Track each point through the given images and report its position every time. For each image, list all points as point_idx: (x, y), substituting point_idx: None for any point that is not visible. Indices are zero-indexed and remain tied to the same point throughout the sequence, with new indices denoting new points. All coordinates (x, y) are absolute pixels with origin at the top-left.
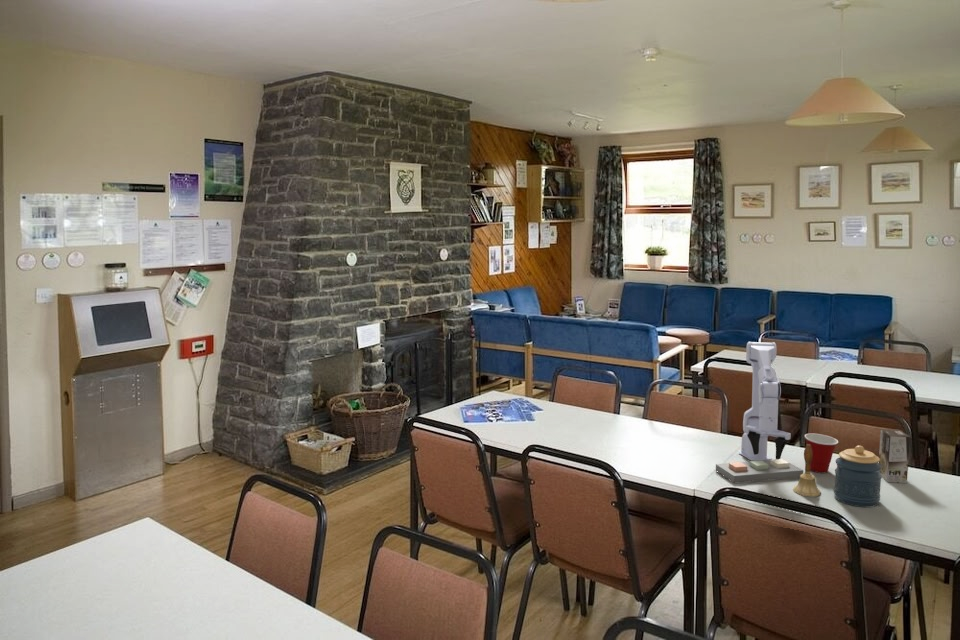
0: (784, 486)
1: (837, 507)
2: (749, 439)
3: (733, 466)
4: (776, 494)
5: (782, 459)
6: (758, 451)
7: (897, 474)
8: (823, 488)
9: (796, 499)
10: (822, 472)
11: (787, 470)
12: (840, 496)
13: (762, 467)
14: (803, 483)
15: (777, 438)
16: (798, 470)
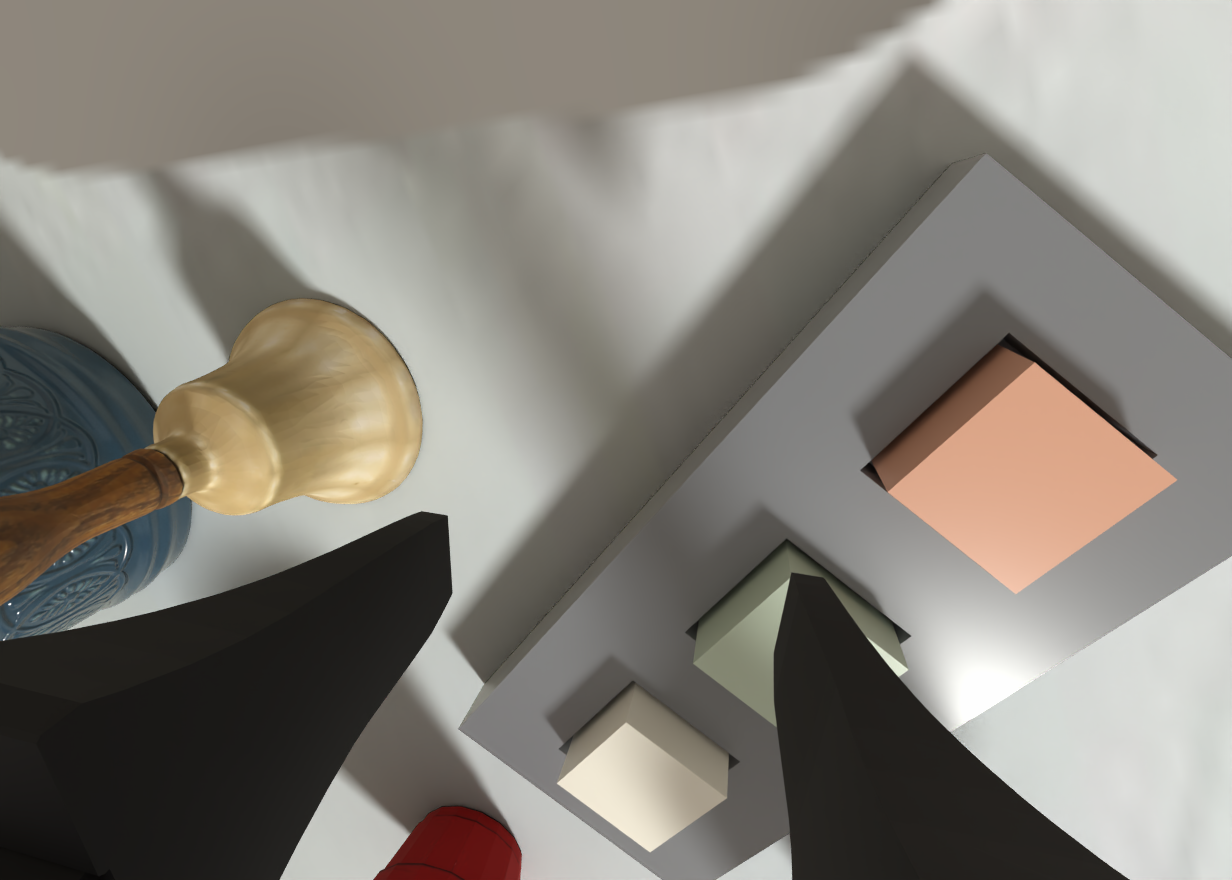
0: (496, 416)
1: (42, 216)
2: (1045, 821)
3: (1077, 399)
4: (457, 152)
5: (639, 841)
6: (774, 682)
7: None
8: (293, 544)
9: (287, 157)
10: (433, 811)
11: (546, 670)
12: (45, 352)
13: (741, 603)
14: (254, 365)
15: (85, 865)
16: (481, 708)
